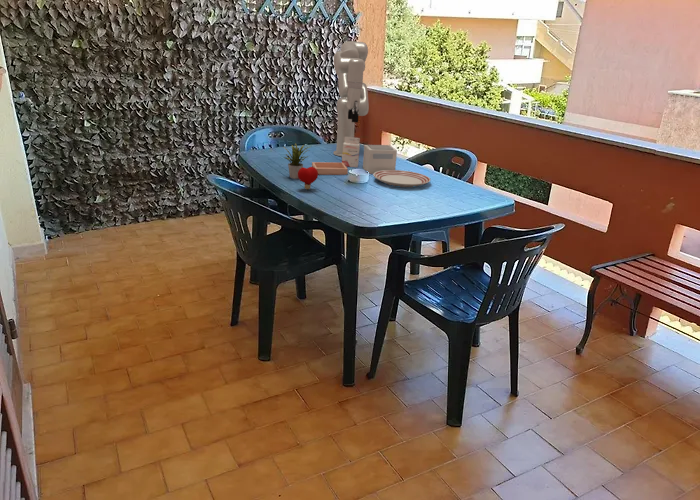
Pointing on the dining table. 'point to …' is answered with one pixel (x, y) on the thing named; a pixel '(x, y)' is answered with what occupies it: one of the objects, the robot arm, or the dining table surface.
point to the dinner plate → (401, 178)
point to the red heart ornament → (308, 176)
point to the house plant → (295, 161)
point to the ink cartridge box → (351, 152)
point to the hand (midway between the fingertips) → (352, 120)
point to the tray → (330, 168)
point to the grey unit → (379, 158)
